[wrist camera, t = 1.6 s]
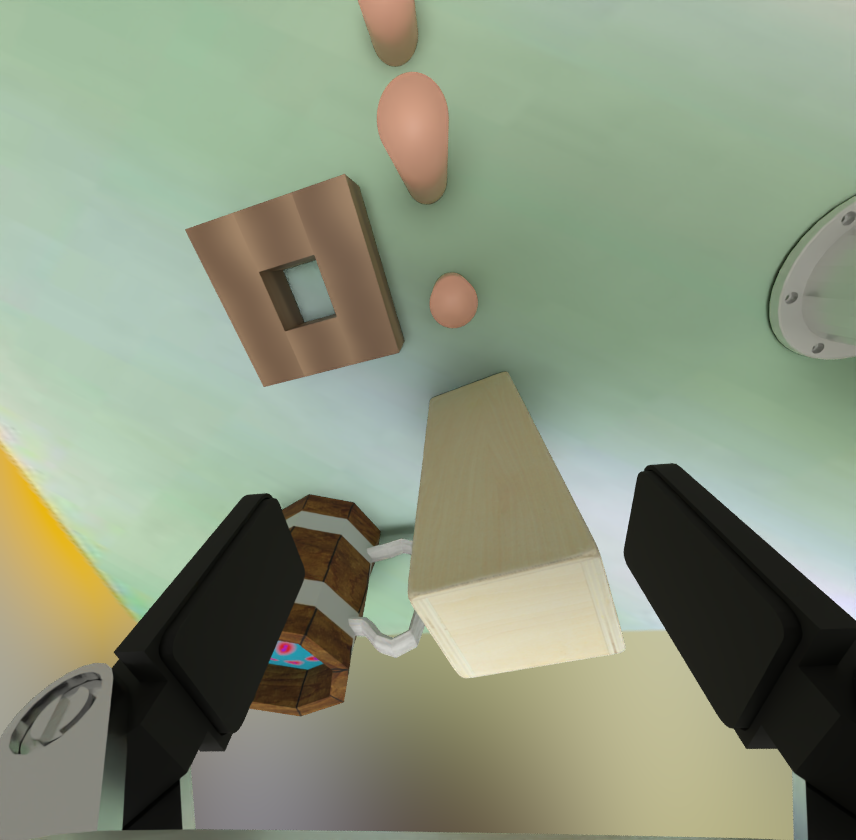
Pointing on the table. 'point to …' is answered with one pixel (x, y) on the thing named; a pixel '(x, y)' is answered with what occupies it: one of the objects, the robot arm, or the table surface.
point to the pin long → (416, 133)
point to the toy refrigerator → (503, 542)
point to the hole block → (269, 290)
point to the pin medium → (453, 301)
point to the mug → (328, 607)
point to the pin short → (391, 29)
